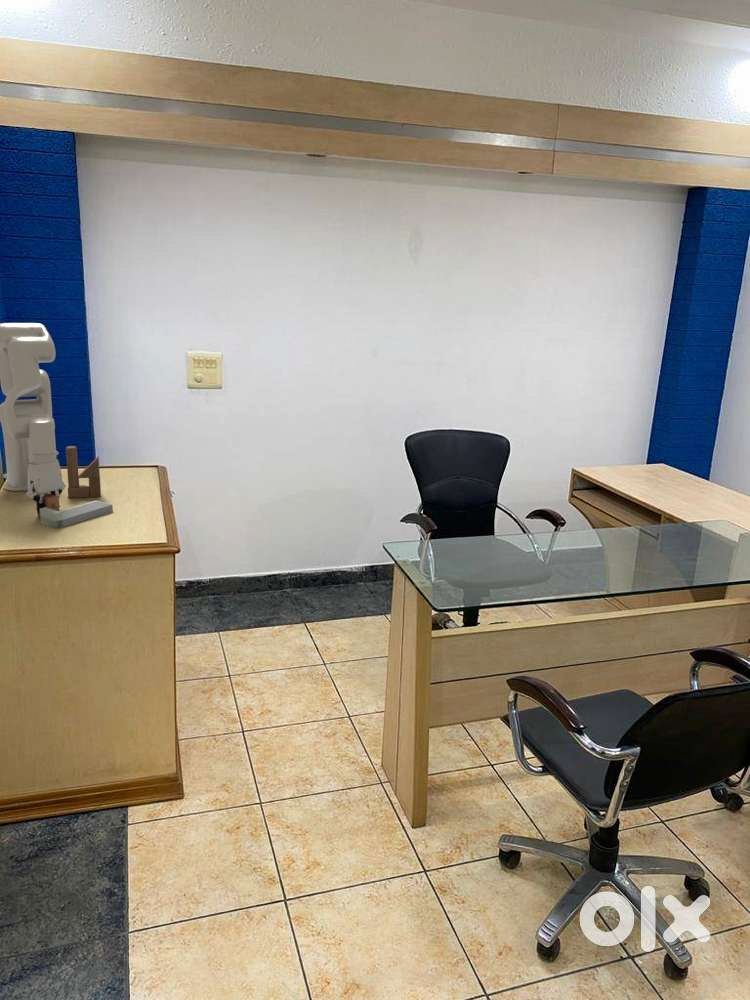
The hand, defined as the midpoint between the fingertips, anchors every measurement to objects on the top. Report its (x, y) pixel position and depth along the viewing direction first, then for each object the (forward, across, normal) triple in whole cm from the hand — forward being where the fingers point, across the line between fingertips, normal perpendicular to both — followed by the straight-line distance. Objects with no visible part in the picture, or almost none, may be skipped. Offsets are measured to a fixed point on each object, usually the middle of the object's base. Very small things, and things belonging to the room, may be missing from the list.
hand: (48, 511), depth 258 cm
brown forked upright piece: (+2, -22, -9) cm, 24 cm away
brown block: (+2, 0, +1) cm, 2 cm away
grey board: (+2, -5, +8) cm, 10 cm away
